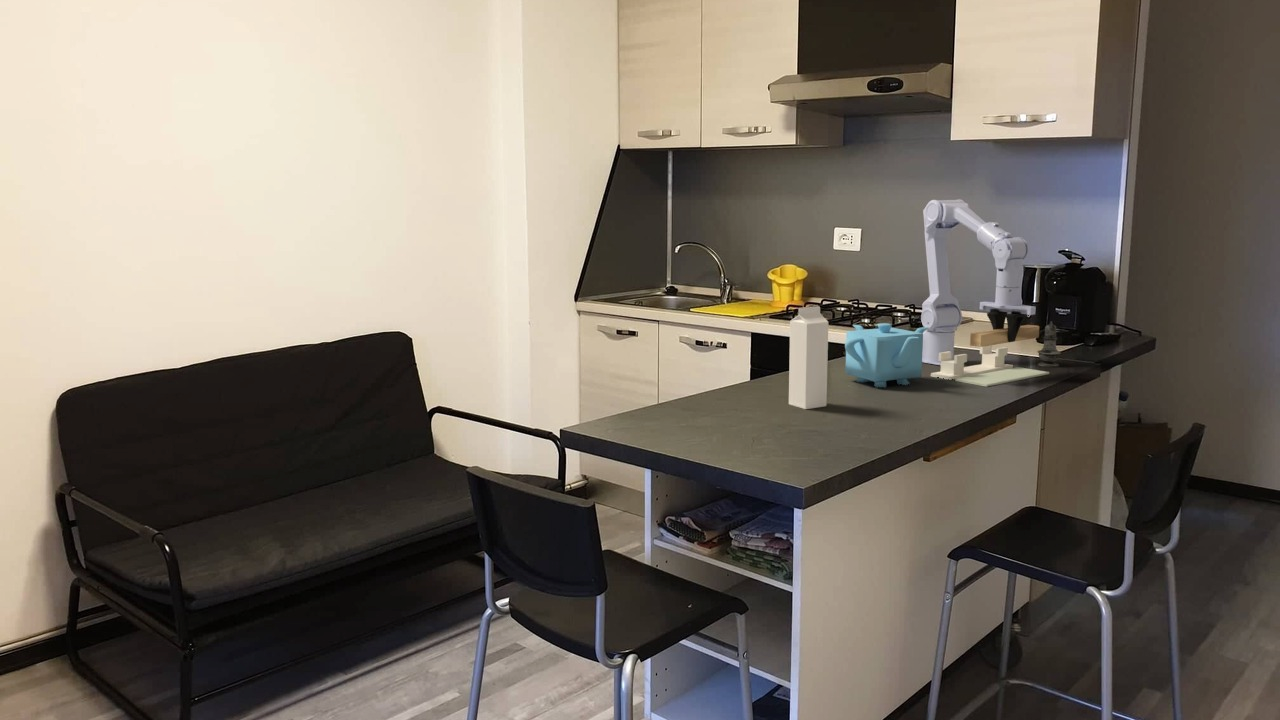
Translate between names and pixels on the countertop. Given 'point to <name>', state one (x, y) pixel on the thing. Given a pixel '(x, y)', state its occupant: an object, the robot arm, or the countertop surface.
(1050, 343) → the grey chess piece
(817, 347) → the milk
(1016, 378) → the sage mat
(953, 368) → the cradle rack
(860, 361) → the teakettle
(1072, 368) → the countertop surface
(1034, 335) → the oak bar
